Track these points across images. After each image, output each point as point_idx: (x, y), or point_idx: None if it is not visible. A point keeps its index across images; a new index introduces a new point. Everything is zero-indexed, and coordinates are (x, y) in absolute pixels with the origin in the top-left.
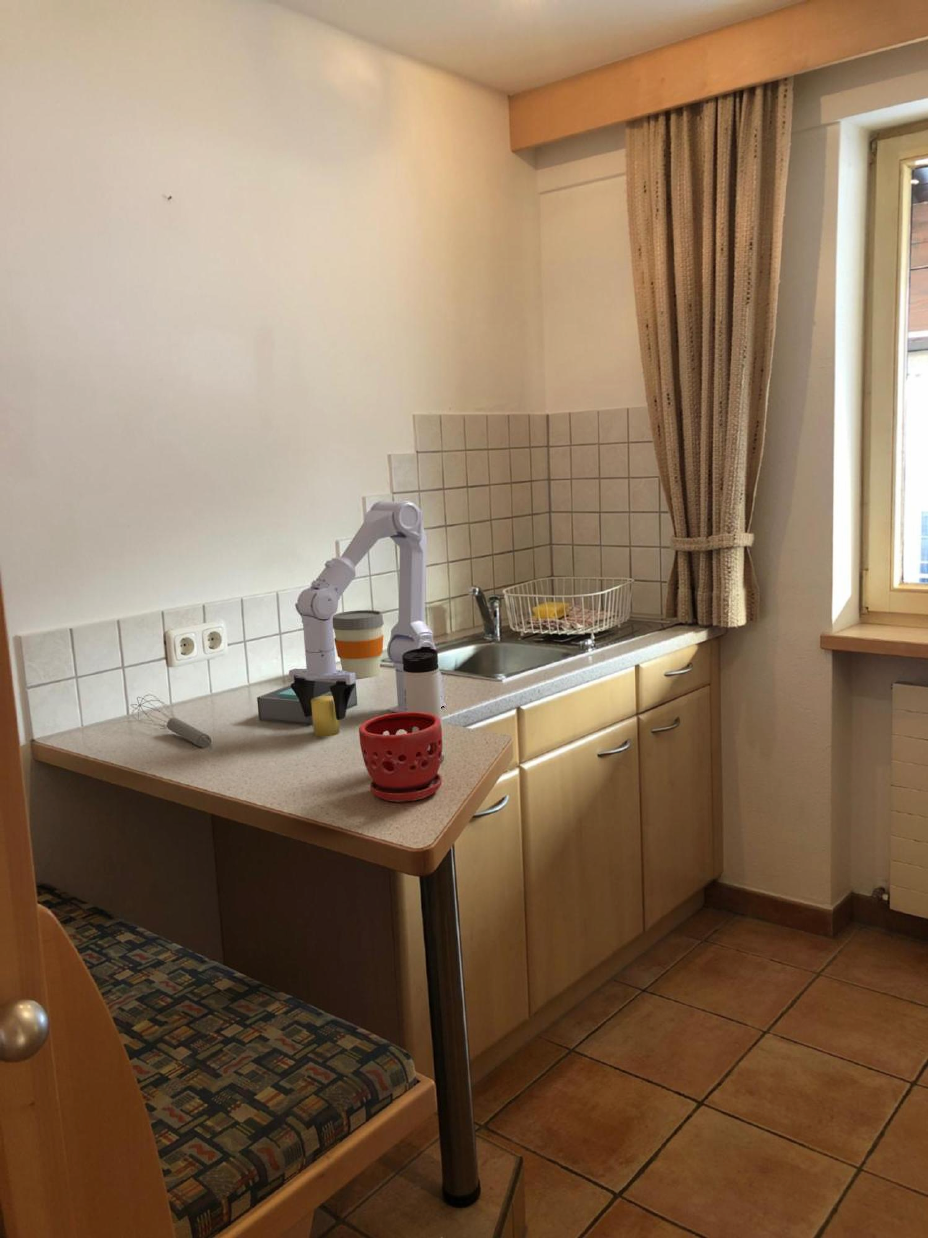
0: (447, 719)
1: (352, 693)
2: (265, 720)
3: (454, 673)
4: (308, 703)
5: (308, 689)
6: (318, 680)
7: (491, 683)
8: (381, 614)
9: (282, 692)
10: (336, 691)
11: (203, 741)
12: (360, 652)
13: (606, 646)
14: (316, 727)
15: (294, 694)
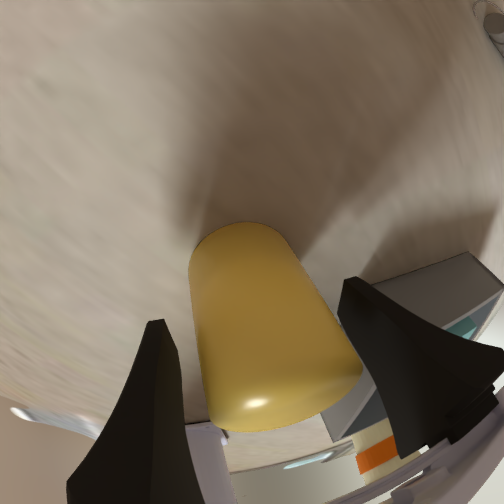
0: (78, 424)
1: (328, 421)
2: (459, 256)
3: (263, 468)
4: (374, 338)
5: (407, 402)
6: (357, 495)
7: None
8: None
9: (468, 337)
10: (96, 484)
11: (499, 18)
12: (377, 451)
13: None
14: (259, 244)
15: None
